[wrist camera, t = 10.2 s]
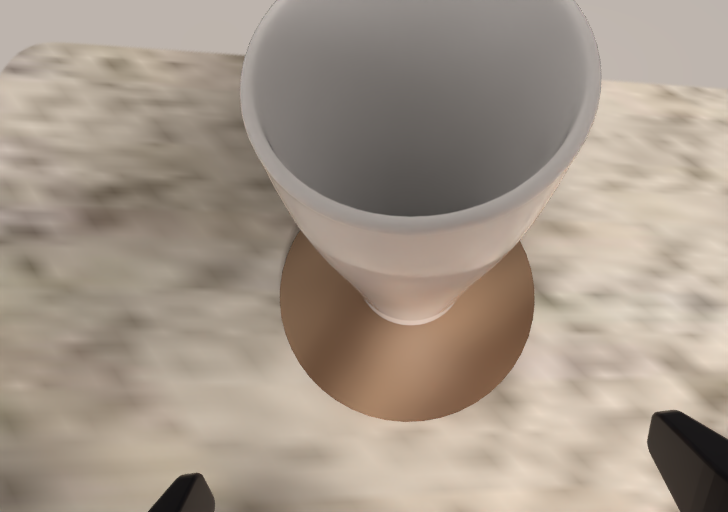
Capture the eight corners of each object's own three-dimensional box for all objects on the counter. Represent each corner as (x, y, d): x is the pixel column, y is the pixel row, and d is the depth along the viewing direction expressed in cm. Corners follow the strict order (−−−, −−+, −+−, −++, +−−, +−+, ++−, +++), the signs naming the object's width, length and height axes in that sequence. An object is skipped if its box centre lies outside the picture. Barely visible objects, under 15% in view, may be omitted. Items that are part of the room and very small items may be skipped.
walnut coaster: (577, 268, 22) (585, 262, 21) (430, 480, 20) (431, 485, 19) (382, 143, 26) (381, 134, 25) (237, 312, 23) (230, 309, 22)
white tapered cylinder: (428, 193, 23) (460, -120, 9) (504, 296, 21) (701, 99, 7) (322, 256, 23) (178, 30, 8) (388, 368, 21) (344, 316, 6)
